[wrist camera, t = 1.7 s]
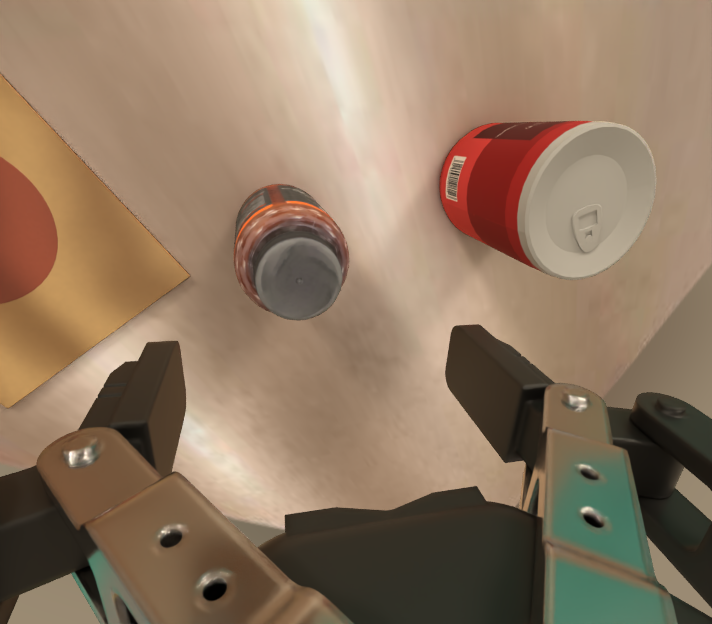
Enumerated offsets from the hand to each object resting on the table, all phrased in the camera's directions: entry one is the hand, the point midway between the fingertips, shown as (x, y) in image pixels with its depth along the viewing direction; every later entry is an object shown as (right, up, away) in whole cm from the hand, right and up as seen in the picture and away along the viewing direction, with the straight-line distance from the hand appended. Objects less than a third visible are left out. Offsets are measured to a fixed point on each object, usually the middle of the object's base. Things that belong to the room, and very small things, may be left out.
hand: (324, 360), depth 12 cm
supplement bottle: (-4, +7, +17) cm, 19 cm away
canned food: (+10, +11, +19) cm, 24 cm away
